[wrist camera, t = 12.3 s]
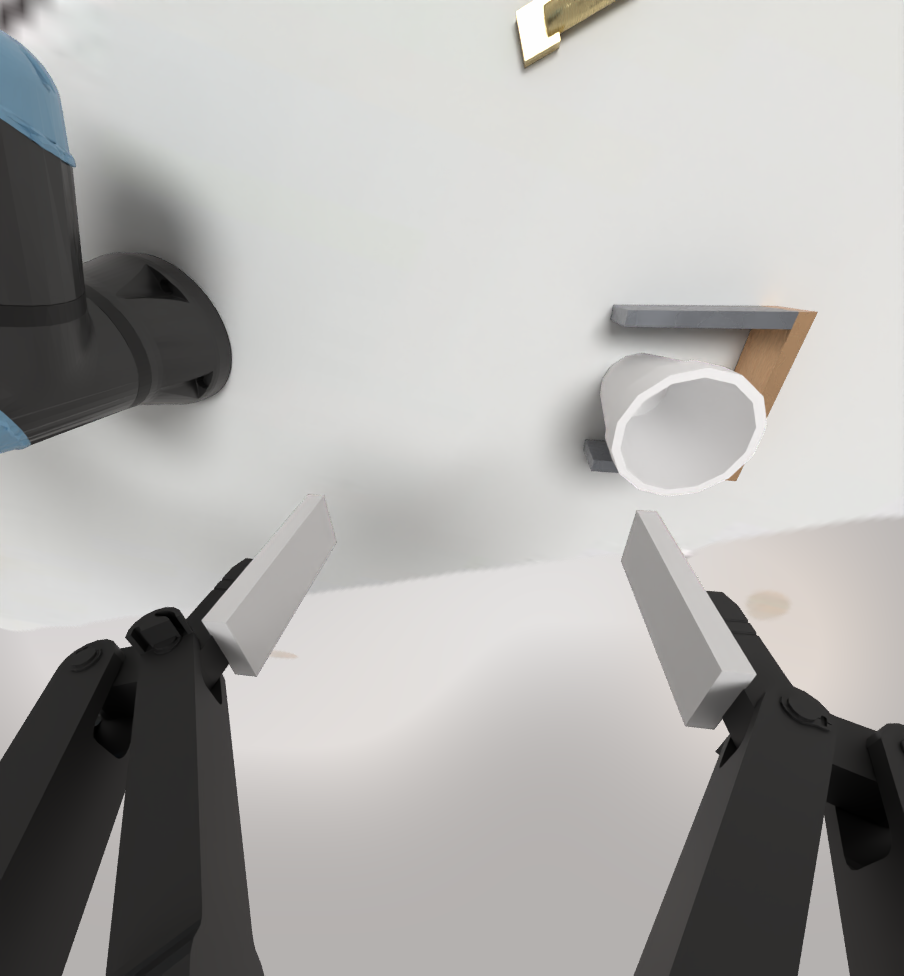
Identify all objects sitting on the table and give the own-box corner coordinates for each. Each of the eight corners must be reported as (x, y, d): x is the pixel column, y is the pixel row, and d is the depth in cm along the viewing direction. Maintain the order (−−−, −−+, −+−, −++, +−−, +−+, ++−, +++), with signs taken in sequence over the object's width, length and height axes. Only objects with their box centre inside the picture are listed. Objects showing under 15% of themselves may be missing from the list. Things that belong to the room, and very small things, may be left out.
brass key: (524, 68, 25) (525, 56, 24) (516, 21, 24) (516, 6, 23) (641, 0, 23) (649, -17, 22) (637, -56, 22) (645, -77, 21)
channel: (583, 449, 40) (591, 470, 35) (613, 304, 32) (627, 310, 28) (711, 457, 38) (736, 480, 34) (776, 306, 30) (817, 311, 26)
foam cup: (670, 432, 37) (733, 500, 26) (578, 429, 39) (601, 493, 28) (700, 334, 32) (793, 367, 21) (593, 335, 34) (629, 367, 23)
